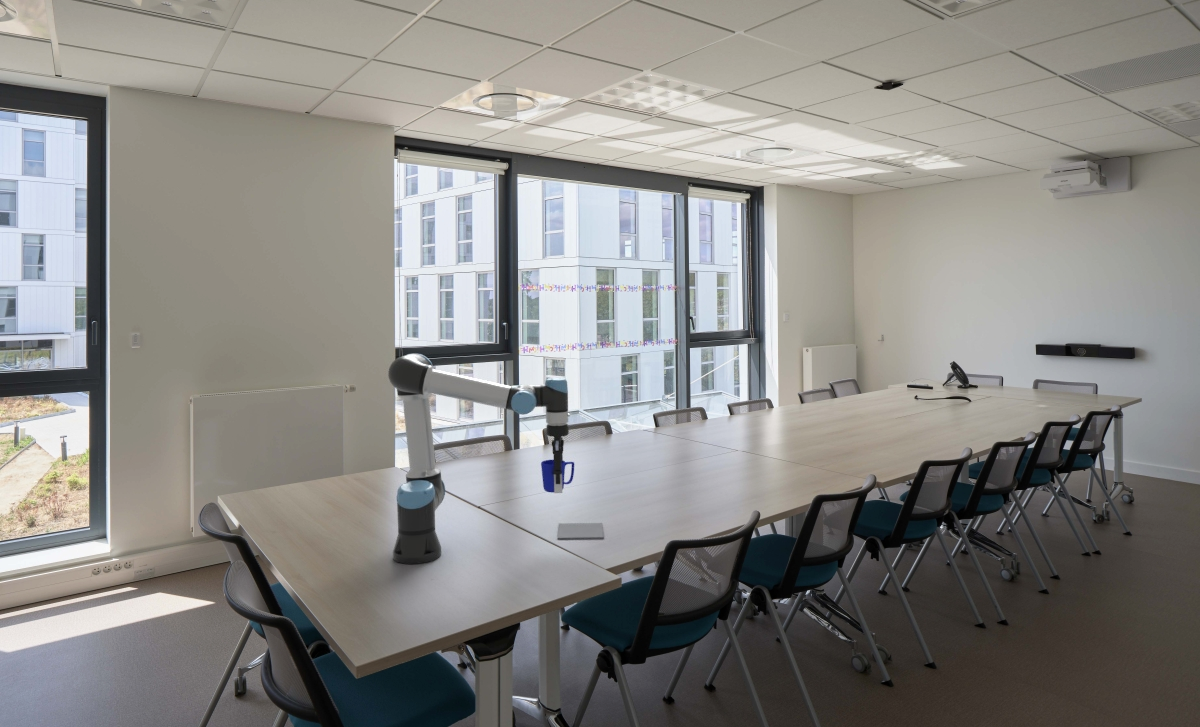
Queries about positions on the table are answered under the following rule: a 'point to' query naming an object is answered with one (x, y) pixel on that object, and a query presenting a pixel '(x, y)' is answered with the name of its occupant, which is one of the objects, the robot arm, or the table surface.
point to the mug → (549, 478)
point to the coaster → (580, 531)
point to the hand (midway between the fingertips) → (558, 489)
